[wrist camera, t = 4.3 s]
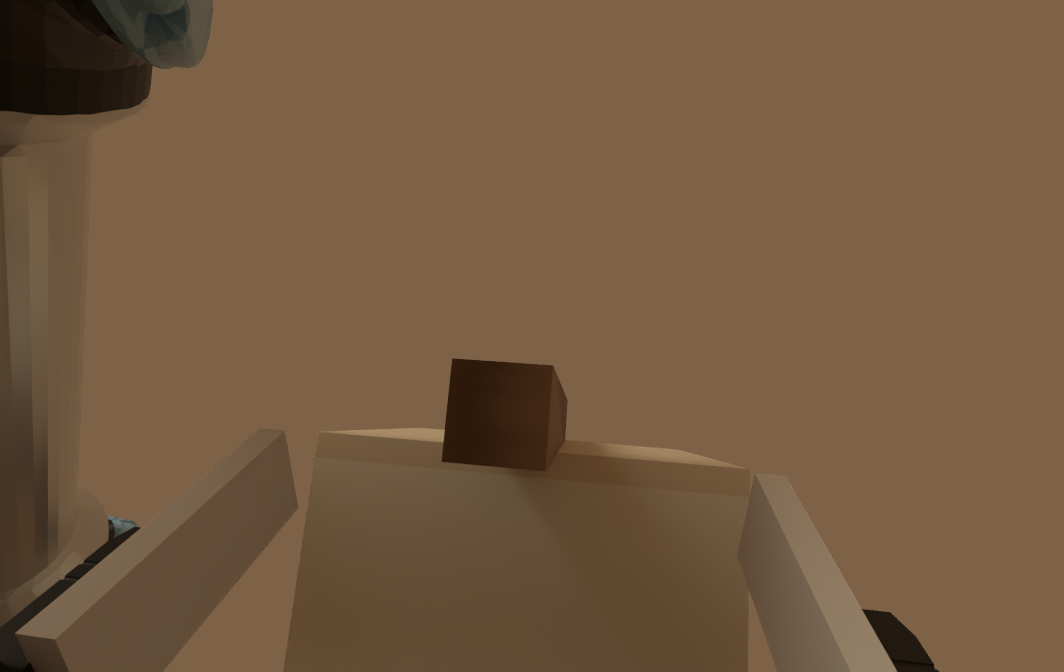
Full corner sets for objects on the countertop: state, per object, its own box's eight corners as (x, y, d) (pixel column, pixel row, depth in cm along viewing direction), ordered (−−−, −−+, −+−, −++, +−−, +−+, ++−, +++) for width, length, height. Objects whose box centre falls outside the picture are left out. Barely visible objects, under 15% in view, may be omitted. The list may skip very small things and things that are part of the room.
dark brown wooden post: (441, 461, 14) (452, 358, 15) (525, 437, 38) (528, 397, 38) (545, 471, 14) (553, 365, 15) (564, 440, 38) (567, 400, 38)
